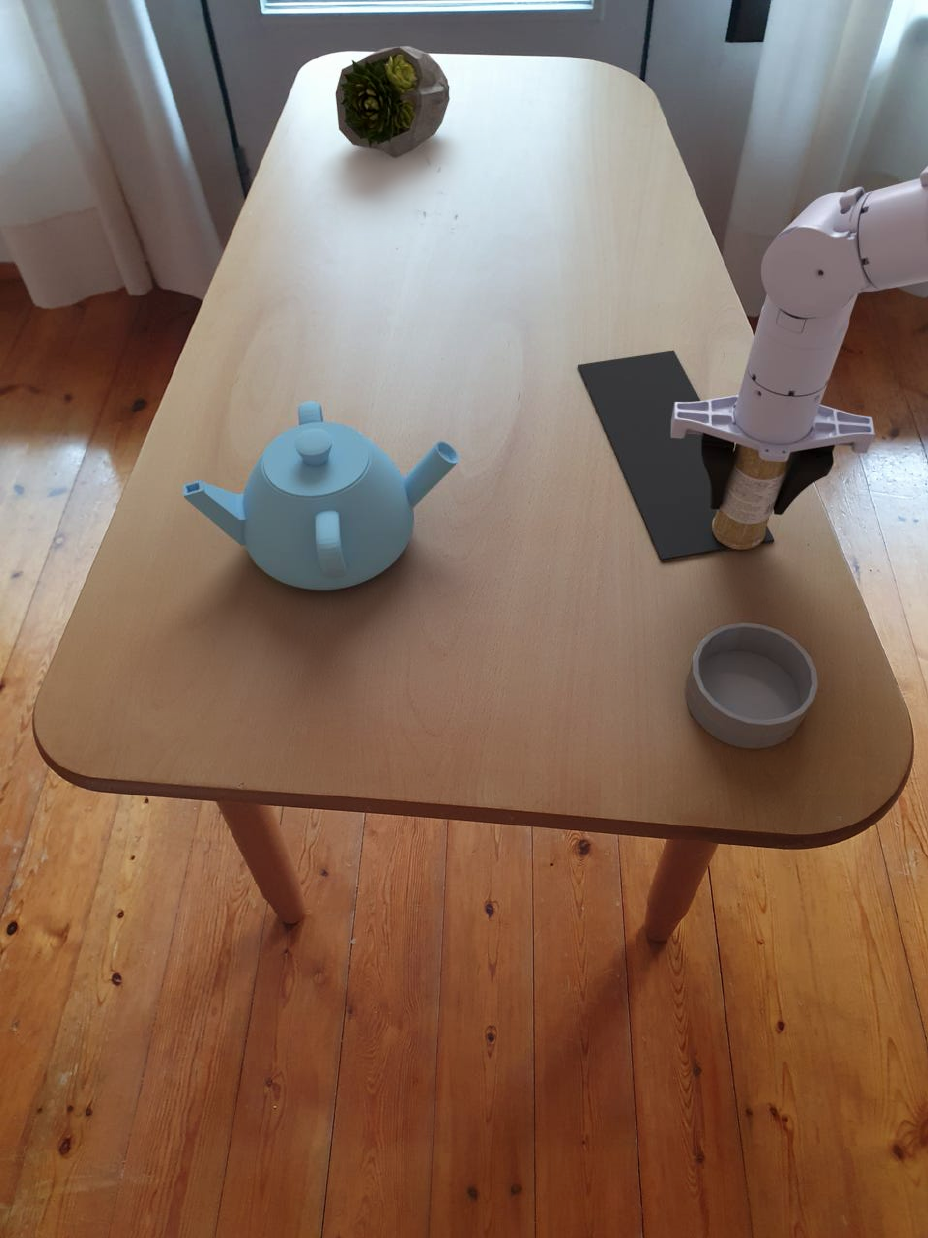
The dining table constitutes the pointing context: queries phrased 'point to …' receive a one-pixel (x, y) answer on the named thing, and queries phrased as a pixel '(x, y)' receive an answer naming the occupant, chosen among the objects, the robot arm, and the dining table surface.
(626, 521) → the dining table surface
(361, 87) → the potted plant
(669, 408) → the mat
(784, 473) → the sprinkles bottle
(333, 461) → the teapot
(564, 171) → the dining table surface
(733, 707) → the basin
